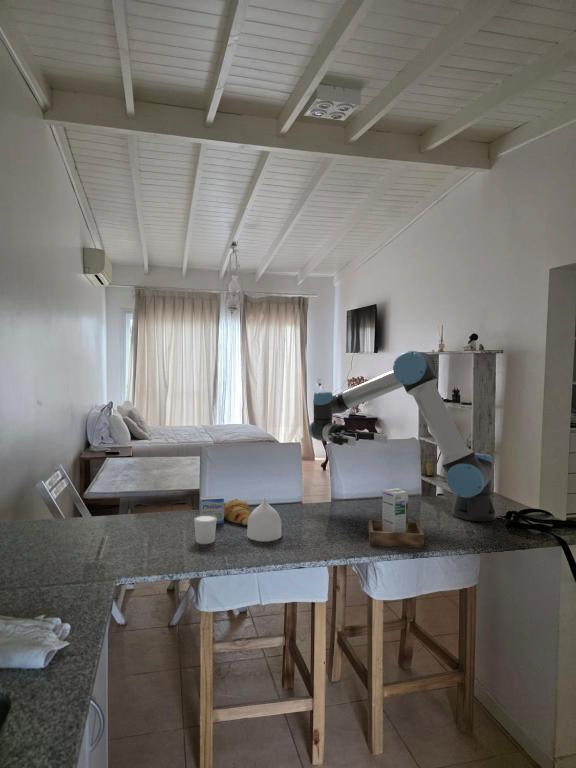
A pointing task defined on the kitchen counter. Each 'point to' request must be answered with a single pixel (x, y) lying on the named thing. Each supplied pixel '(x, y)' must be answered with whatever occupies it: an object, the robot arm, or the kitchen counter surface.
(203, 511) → the medicine box
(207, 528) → the shot glass
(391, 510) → the syrup box
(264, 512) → the teardrop
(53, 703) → the kitchen counter surface
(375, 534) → the serving tray
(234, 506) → the croissant
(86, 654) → the kitchen counter surface
